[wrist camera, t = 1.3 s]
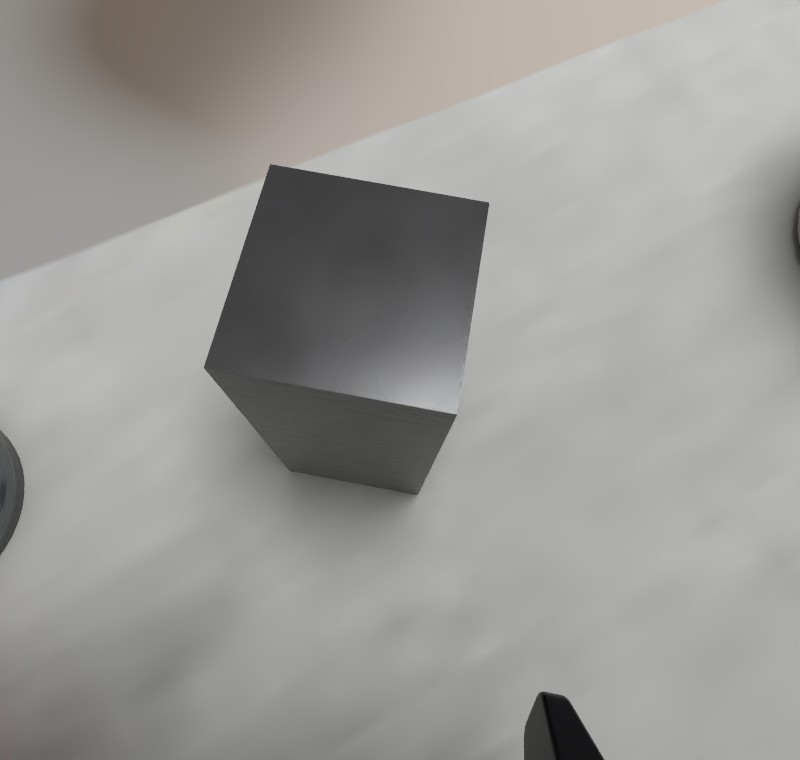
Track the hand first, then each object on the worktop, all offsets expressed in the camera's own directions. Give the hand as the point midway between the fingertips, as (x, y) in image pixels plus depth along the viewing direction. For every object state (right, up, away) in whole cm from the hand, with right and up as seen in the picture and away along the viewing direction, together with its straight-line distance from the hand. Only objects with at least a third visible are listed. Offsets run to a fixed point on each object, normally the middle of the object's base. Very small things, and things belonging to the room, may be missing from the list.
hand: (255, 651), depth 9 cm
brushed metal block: (+1, +3, +15) cm, 15 cm away
